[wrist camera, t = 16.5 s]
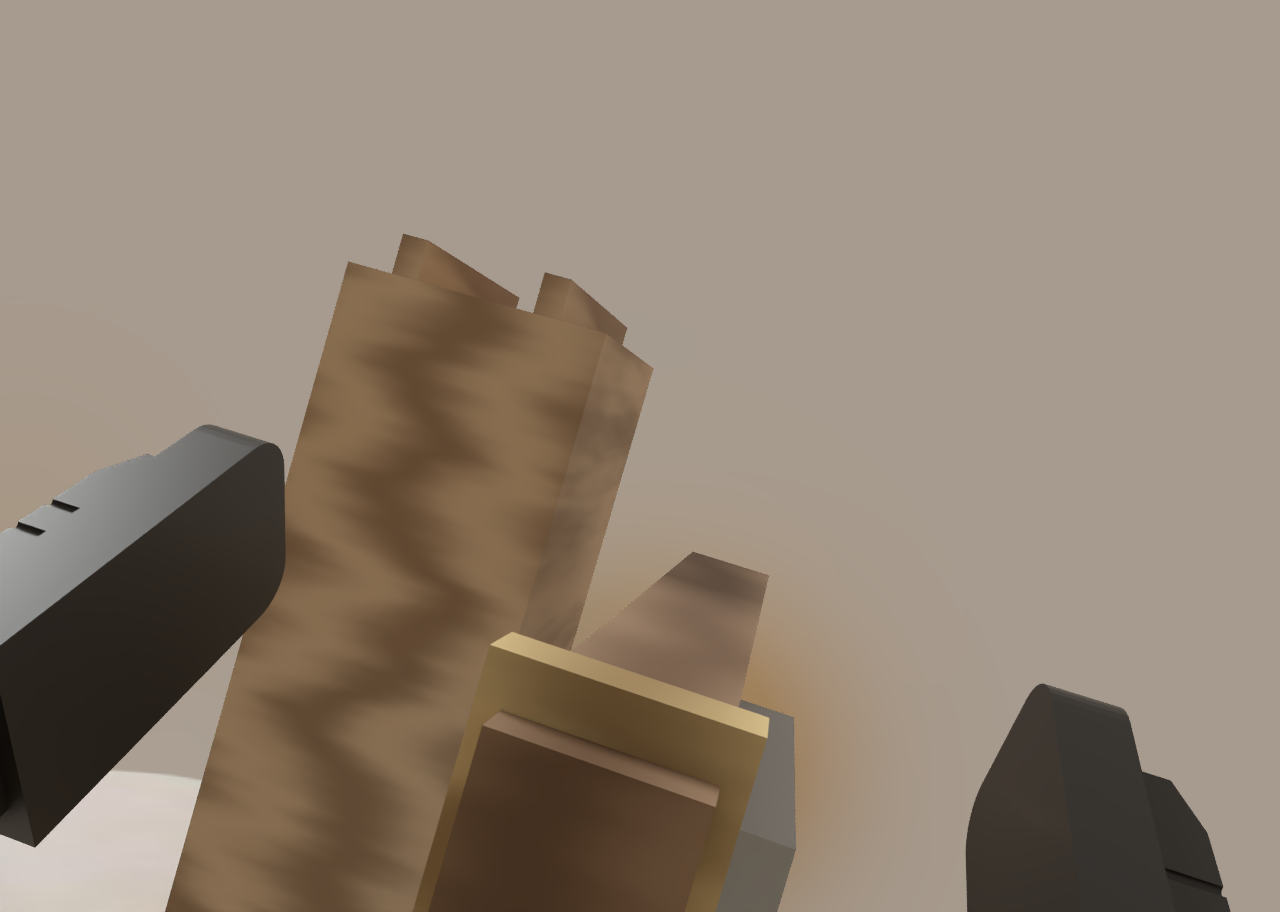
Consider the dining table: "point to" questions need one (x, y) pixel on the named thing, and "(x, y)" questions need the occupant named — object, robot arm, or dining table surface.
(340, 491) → the oak stand
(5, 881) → the dining table surface
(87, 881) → the dining table surface
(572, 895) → the walnut bar
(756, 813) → the grey block
